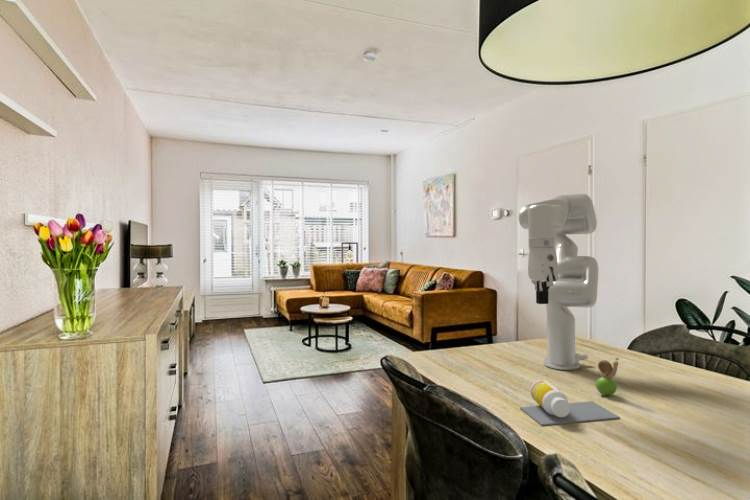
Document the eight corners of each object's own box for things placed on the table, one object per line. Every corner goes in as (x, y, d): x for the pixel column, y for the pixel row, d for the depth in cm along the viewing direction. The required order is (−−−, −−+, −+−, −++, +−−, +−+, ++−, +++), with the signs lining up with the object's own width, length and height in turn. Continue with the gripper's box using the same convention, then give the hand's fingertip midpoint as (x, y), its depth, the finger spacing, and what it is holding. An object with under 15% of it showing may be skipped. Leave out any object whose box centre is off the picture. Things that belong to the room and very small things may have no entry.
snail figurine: (612, 400, 121) (612, 359, 121) (592, 393, 127) (591, 354, 127) (624, 397, 124) (623, 356, 124) (603, 390, 130) (603, 351, 129)
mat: (592, 402, 120) (592, 401, 120) (619, 418, 109) (619, 417, 109) (520, 408, 117) (520, 407, 117) (541, 425, 106) (541, 424, 106)
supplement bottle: (526, 397, 121) (544, 416, 108) (533, 376, 120) (553, 392, 108) (548, 404, 121) (569, 424, 108) (555, 383, 121) (577, 400, 108)
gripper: (567, 244, 123) (567, 306, 124) (539, 244, 138) (540, 299, 138) (543, 245, 122) (544, 307, 123) (518, 244, 137) (519, 300, 137)
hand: (542, 303), depth 130 cm, fingers closed
